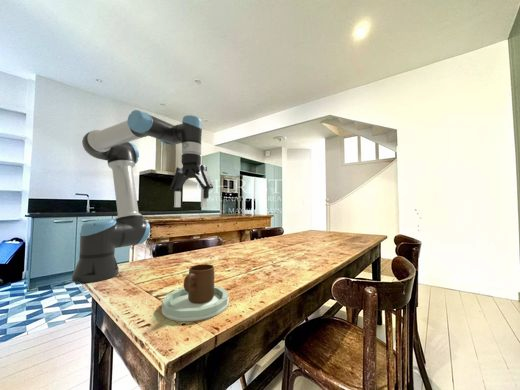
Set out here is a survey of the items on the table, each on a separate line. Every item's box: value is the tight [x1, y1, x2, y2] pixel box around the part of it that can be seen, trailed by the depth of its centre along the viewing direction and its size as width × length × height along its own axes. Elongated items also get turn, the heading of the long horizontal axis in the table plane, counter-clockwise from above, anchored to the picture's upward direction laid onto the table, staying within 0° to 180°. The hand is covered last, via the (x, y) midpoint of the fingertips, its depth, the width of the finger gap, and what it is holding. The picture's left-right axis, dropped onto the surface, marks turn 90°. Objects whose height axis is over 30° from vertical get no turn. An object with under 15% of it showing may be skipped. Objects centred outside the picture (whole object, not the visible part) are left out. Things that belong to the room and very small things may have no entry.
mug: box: [183, 263, 215, 303], centre depth 63 cm, size 12×8×9 cm, turn 163°
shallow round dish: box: [161, 285, 230, 323], centre depth 63 cm, size 19×19×2 cm
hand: (190, 207), depth 85 cm, fingers open, 13 cm apart
